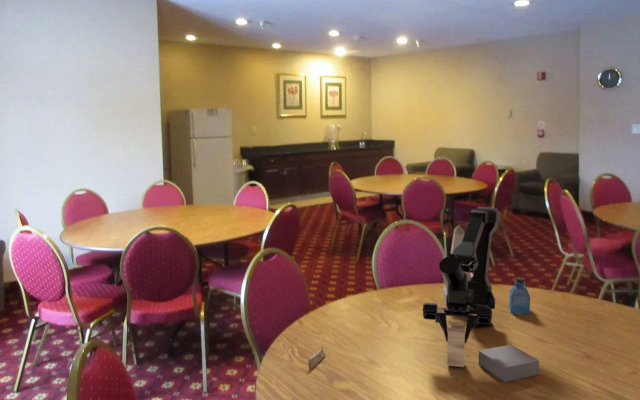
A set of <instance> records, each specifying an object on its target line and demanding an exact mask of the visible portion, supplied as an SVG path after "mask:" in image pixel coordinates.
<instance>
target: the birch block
mask: <svg viewBox="0 0 640 400" xmlns="http://www.w3.org/2000/svg"><path fill="white" fill-rule="evenodd" d="M447 323H448V324H447V330H448V342H447V350H446V351H447V355H446V356H447V359H446V365H447V366H450V367H451V366H452V367H459V368H465V349H466V348H465V345H466V343H465V331H466V322H462V321H461V322H460V321H451V320H448V322H447Z"/></svg>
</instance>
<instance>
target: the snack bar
mask: <svg viewBox="0 0 640 400" xmlns="http://www.w3.org/2000/svg"><path fill="white" fill-rule="evenodd" d="M323 349H324V347H323V346H321V347H320V349H319V350H318V351H317V352H315V354H313V355H312V356H311V357H309V359H308V368H309V370H310V371H311V370H312V369H313V368H314V367H315V366H316V365H317V364H318V363H320V362H321V361H322V359H324V358H325V357H326V356H327V354H326V353H325V351H324V350H323Z"/></svg>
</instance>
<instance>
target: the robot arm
mask: <svg viewBox="0 0 640 400" xmlns="http://www.w3.org/2000/svg"><path fill="white" fill-rule="evenodd" d="M498 210H499V209H498V207H488V206H487V207H486V206H477V207H476V209H471V211H470V214H469V222H468V224H467V227H466V229H465V231H464V237H463V240H462V242H461V244H460V245H459V246H457V247H456V248H455V249H454V251H453V253H452V254H451V252H450V253H449V254H448V256H445V257H444V258H442V259H441V260H440V261H439V264H438V268H439V270H440V272H441V274H442V277H443V276H444V277H443V279H444V278H445V280H446V281H448V286H447V300H446V306H447V307H446V306H445V307H438V303H435V302H425V303H424V304H423V305H422V316H423V319H424V320H430V321H432V320H433V321H435V323H437V324H439V325H440V327H441V329H442V333H443V335H444V338H445V341H446V343H448V324H447V323H448V322H447V316H449V317H459V318H462V317H463V318H466V322H465V323H466V324H465V344H467V342H468V340H469V337H470V335H471V332H472V331H473V329H474V327H475V328H477V329H478V328H479V329H480V328H485V327H491V326H494V323H493V322H492V318H493V310H494V309H496V308H495V307H496V298H495V296H494V293H493V290H492V289H493V288H492V285H491V282H490V280H489V268H490V260H491V259H490V257H491V247H492V241H493V240H492V239H493V234H494V233H495V232H496V230H497V229H498V228H499V223H500V222H501V219H502V214H501V211H498ZM464 272H469V273H472V274H473V277H472V278H471V280H470V281H468V276H467V275H466V274H465V273H464ZM468 306H469V309H468Z"/></svg>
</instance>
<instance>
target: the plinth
mask: <svg viewBox="0 0 640 400" xmlns="http://www.w3.org/2000/svg"><path fill="white" fill-rule="evenodd" d="M478 366H480V367H482V368H483V369H485V370H486V371H487V372H490V373H491V374H492V375H494V376H495V377H496V378H498V379H499V380H501V381H502V382H504V383H508V382H512V381H516V380H521V379H525V378H530V377H533V376H538V375H539V371H540V360H539V359H537V358H536V357H534V356H533V355H530V354H528V352H527V353H526V352H525V351H524V350H521V349H520V348H518V347H516V346H515V345H514V344H505V345H502V346H496V347H495V346H494V347H490V348H486V349H481V350H478Z"/></svg>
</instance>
